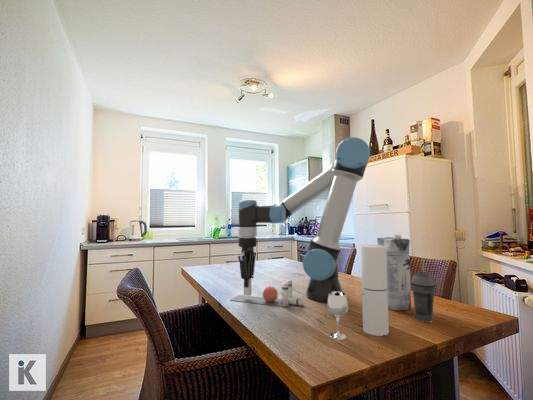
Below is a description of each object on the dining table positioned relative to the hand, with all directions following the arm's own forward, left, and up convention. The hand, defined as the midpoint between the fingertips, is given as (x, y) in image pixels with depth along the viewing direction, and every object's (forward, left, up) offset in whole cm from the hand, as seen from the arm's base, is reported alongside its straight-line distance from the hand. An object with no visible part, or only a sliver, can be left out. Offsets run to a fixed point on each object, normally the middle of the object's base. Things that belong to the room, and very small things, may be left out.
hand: (247, 294), depth 114 cm
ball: (-10, 0, +1) cm, 10 cm away
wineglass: (-39, +23, -2) cm, 45 cm away
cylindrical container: (-49, +15, -2) cm, 51 cm away
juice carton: (-56, -11, -2) cm, 57 cm away
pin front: (-14, 0, -1) cm, 15 cm away
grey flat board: (-6, 0, -2) cm, 6 cm away
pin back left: (-17, +2, -2) cm, 17 cm away
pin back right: (-17, -2, -2) cm, 17 cm away
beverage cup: (-64, 0, -2) cm, 64 cm away
